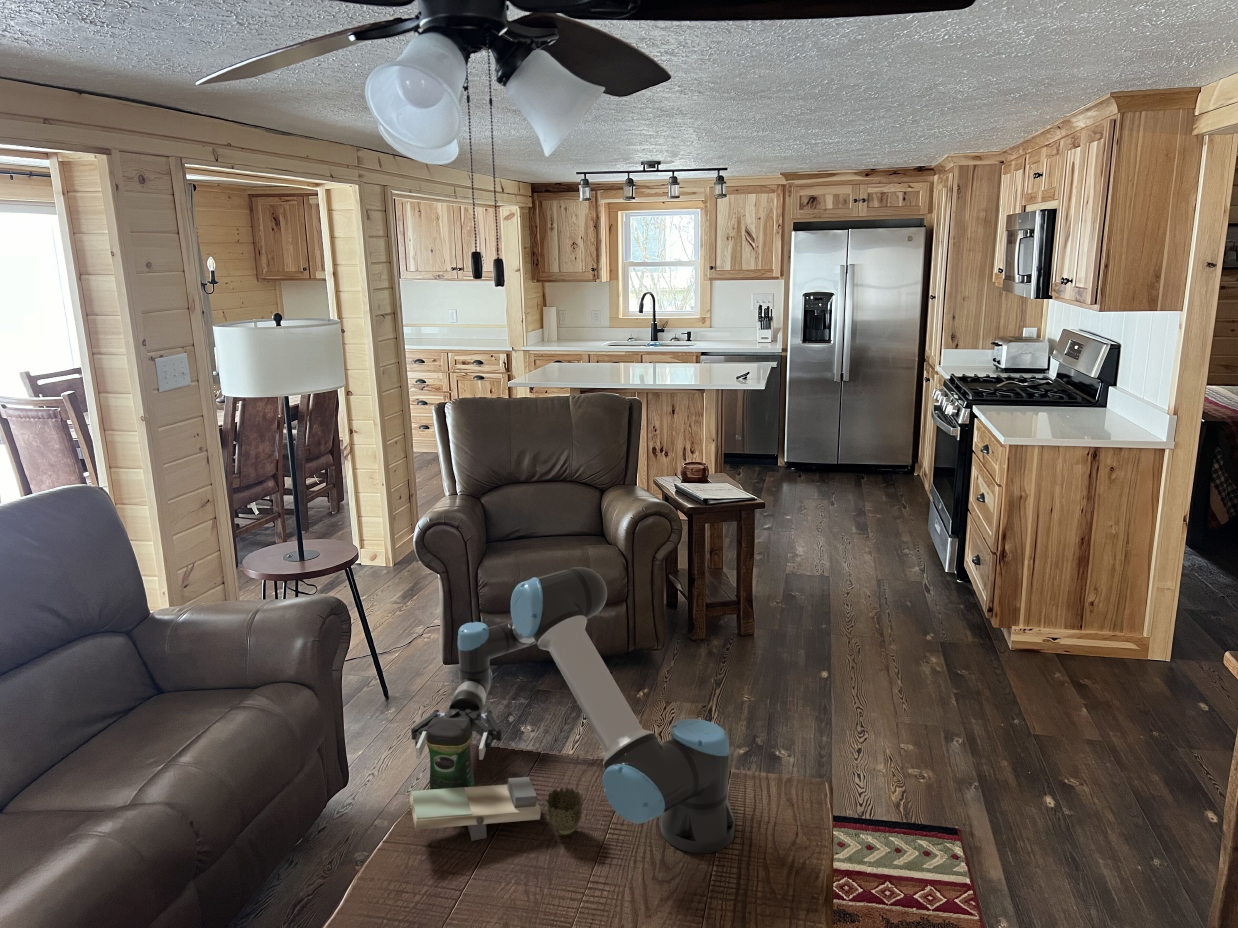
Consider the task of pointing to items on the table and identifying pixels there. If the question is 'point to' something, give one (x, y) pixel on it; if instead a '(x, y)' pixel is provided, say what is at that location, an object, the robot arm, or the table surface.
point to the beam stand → (477, 831)
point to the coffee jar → (450, 753)
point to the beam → (475, 805)
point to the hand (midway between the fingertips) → (449, 753)
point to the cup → (564, 810)
